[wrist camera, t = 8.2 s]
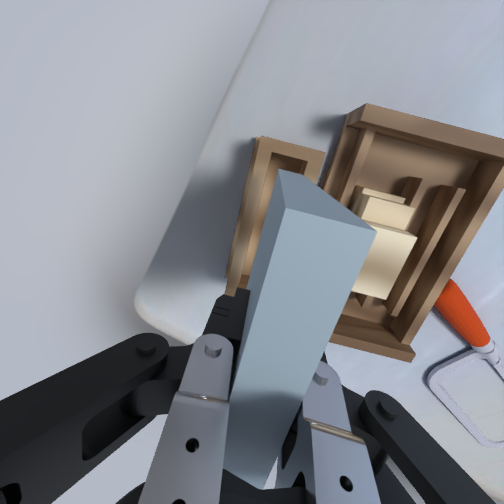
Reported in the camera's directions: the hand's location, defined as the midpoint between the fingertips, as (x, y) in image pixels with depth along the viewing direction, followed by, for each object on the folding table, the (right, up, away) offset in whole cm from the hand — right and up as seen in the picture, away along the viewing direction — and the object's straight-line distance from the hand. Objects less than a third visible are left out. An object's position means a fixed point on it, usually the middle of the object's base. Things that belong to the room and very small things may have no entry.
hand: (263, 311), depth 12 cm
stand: (+1, +6, +17) cm, 18 cm away
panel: (+1, +3, +8) cm, 9 cm away
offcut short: (+10, +3, +12) cm, 16 cm away
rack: (+13, +4, +17) cm, 21 cm away
